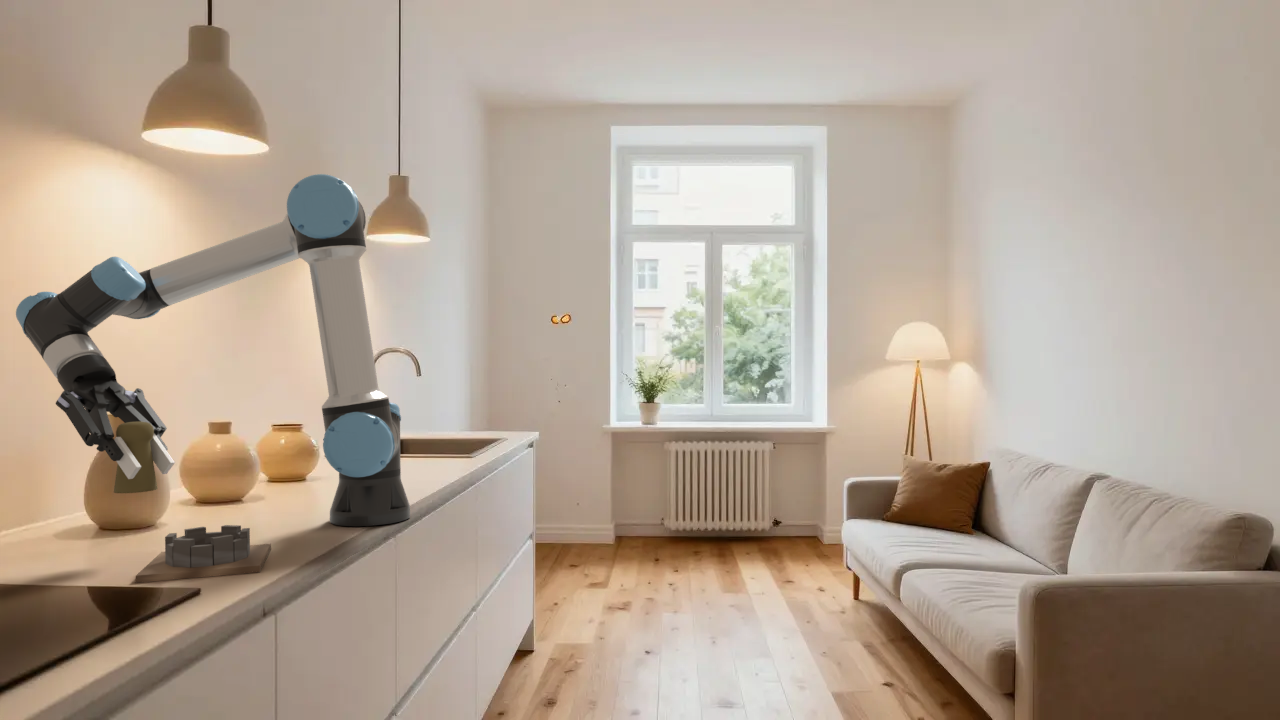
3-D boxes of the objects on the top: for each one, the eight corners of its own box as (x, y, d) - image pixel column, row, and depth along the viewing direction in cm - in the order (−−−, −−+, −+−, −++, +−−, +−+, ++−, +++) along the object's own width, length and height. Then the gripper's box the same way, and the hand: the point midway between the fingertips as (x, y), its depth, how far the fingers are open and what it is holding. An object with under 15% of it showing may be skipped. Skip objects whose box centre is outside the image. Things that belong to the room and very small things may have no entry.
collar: (270, 549, 136) (270, 519, 136) (259, 572, 121) (259, 538, 121) (161, 558, 131) (161, 526, 131) (135, 582, 116) (135, 547, 116)
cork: (136, 493, 128) (135, 423, 128) (103, 493, 129) (103, 423, 129) (166, 487, 133) (165, 420, 133) (135, 487, 135) (134, 420, 135)
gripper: (122, 382, 145) (190, 478, 139) (11, 386, 128) (83, 495, 122) (143, 352, 143) (213, 448, 137) (33, 351, 127) (107, 461, 120)
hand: (152, 470), depth 130 cm, fingers closed on cork, 5 cm apart
